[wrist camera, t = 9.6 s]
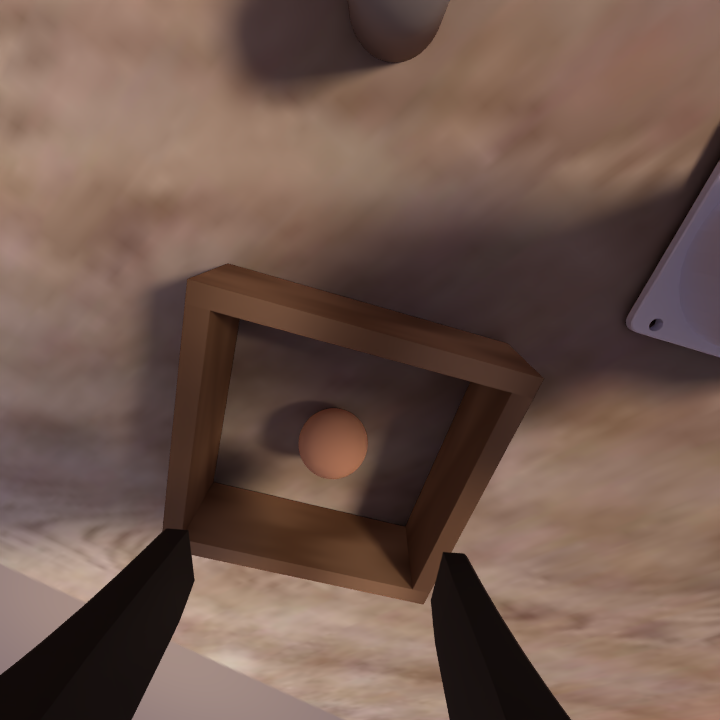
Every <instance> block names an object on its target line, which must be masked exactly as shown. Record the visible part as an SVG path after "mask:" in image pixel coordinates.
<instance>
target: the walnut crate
mask: <svg viewBox="0 0 720 720" xmlns="http://www.w3.org/2000/svg"><path fill="white" fill-rule="evenodd" d="M240 319H243V320H247V321H251V322H254V323H258V324H261V325H265V326H269V327H272V328H276V329H280V330H283V331H287V332H291V333H294V334H298V335H302V336H305V337H309V338H313V339H316V340H320V341H324V342H327V343H331V344H335V345H338V346H342V347H346V348H349V349H353V350H357V351H360V352H364V353H368V354H371V355H375V356H379V357H382V358H386V359H390V360H393V361H397V362H401V363H404V364H408V365H412V366H415V367H419V368H423V369H426V370H430V371H434V372H437V373H441V374H445V375H448V376H452V377H456V378H459V379H463V380H467V381H470V384H469V386H468V388H467V390H466V393H465V395H464V397H463V399H462V402H461V404H460V406H459V408H458V411H457V413H456V415H455V417H454V419H453V422H452V424H451V426H450V428H449V431H448V433H447V435H446V437H445V440H444V442H443V444H442V446H441V448H440V451H439V453H438V455H437V457H436V460H435V462H434V464H433V466H432V468H431V471H430V473H429V475H428V477H427V480H426V482H425V484H424V486H423V489H422V491H421V493H420V495H419V497H418V500H417V502H416V504H415V506H414V509H413V511H412V513H411V515H410V518H409V520H408V522H407V524H406V526H405V527H404V526H400V525H395V524H391V523H387V522H382V521H378V520H374V519H370V518H365V517H361V516H357V515H352V514H348V513H344V512H339V511H335V510H331V509H327V508H322V507H318V506H314V505H309V504H305V503H301V502H296V501H292V500H288V499H283V498H279V497H275V496H271V495H266V494H262V493H258V492H253V491H249V490H245V489H240V488H236V487H232V486H228V485H223V484H219V483H215V482H214V476H215V469H216V463H217V457H218V451H219V445H220V438H221V432H222V426H223V420H224V414H225V407H226V401H227V395H228V389H229V383H230V376H231V370H232V364H233V358H234V352H235V345H236V339H237V333H238V327H239V320H240ZM543 380H544V378H543V377H542V376H541V375H540V374H539V373H538V372H537V371H536V370H535V369H534V368H532V367H531V366H530V365H529V364H528V363H527V362H526V361H525V360H524V359H523V358H522V357H521V356H520V355H519V354H518V353H517V352H516V351H515V350H514V349H513V348H512V347H511V346H510V345H509V344H507V343H504V342H501V341H497V340H494V339H490V338H487V337H483V336H480V335H476V334H473V333H469V332H466V331H462V330H459V329H455V328H452V327H448V326H445V325H441V324H438V323H434V322H431V321H427V320H424V319H420V318H417V317H413V316H410V315H406V314H403V313H399V312H396V311H392V310H389V309H385V308H382V307H378V306H375V305H371V304H368V303H364V302H361V301H357V300H354V299H350V298H347V297H343V296H340V295H336V294H333V293H329V292H326V291H322V290H319V289H315V288H312V287H308V286H305V285H301V284H298V283H294V282H291V281H287V280H284V279H280V278H277V277H273V276H270V275H266V274H263V273H259V272H256V271H252V270H249V269H245V268H242V267H238V266H235V265H231V264H225V265H223V266H220V267H218V268H215V269H212V270H210V271H207V272H205V273H202V274H199V275H197V276H194V277H191V278H189V279H187V287H186V297H185V308H184V318H183V328H182V338H181V348H180V358H179V368H178V379H177V389H176V399H175V409H174V419H173V429H172V439H171V450H170V460H169V470H168V480H167V490H166V500H165V511H164V521H163V531H164V530H165V529H167V528H169V529H181V530H188V531H189V539H190V547H191V555H195V556H200V557H204V558H209V559H214V560H218V561H223V562H228V563H232V564H237V565H242V566H246V567H251V568H256V569H260V570H265V571H270V572H274V573H279V574H284V575H288V576H293V577H298V578H302V579H307V580H312V581H316V582H321V583H326V584H330V585H335V586H340V587H344V588H349V589H354V590H358V591H363V592H368V593H372V594H377V595H382V596H386V597H391V598H396V599H400V600H405V601H410V602H414V603H419V604H424V602H425V601H426V599H427V597H428V595H429V593H430V591H431V589H432V587H433V586H434V584H435V582H436V578H437V574H438V570H439V566H440V562H441V558H442V554H443V552H450V553H451V552H452V550H453V548H454V546H455V544H456V543H457V541H458V539H459V537H460V535H461V533H462V531H463V529H464V528H465V526H466V524H467V522H468V520H469V518H470V516H471V515H472V513H473V511H474V509H475V507H476V505H477V503H478V501H479V500H480V498H481V496H482V494H483V492H484V490H485V488H486V486H487V485H488V483H489V481H490V479H491V477H492V475H493V473H494V471H495V470H496V468H497V466H498V464H499V462H500V460H501V458H502V457H503V455H504V453H505V451H506V449H507V447H508V445H509V443H510V442H511V440H512V438H513V436H514V434H515V432H516V430H517V428H518V427H519V425H520V423H521V421H522V419H523V417H524V415H525V414H526V412H527V410H528V408H529V406H530V404H531V402H532V400H533V399H534V397H535V395H536V393H537V391H538V389H539V387H540V385H541V384H542V382H543ZM163 531H162V532H163Z"/></svg>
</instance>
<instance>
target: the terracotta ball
mask: <svg viewBox="0 0 720 720" xmlns="http://www.w3.org/2000/svg"><path fill="white" fill-rule="evenodd" d="M367 446H368V439H367V434H366V431H365V428H364V426H363V424H362V423H361V422H360V420H359V419H358V418H357V417H356V416H354V415H353V414H352V413H350V412H348V411H346V410H343V409H338V408H330V409H325V410H322V411H319V412H317V413H315V414H314V415H313V416H311V417H310V418H309V419H308V420H307V422H306V423H305V424H304V426H303V428H302V430H301V433H300V436H299V452H300V456H301V458H302V461H303V462H304V464H305V465H306V467H307V468H308V469H309V470H310V471H311V472H313V473H314V474H316V475H317V476H320V477H323V478H327V479H339V478H343V477H346V476H348V475H350V474H351V473H353V472H354V471H355V470H356V469H357V468H358V467H359V466H360V465H361V463H362V462H363V460H364V458H365V456H366V452H367Z"/></svg>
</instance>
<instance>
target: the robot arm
mask: <svg viewBox="0 0 720 720" xmlns="http://www.w3.org/2000/svg"><path fill="white" fill-rule="evenodd" d="M654 319H656V322H655V324H654V325H653V326H652V327H650V328H649V325H650V323H651V322H652V321H653V320H654ZM626 325H627V327H628V328H629V329H630V330H632V331H634V332H636V333H640V334H643V335H646V336H650V337H653V338H656V339H660V340H663V341H666V342H670V343H673V344H677V345H680V346H683V347H687V348H690V349H693V350H697V351H700V352H703V353H707V354H710V355H713V356H717V357H720V160H719V162H718V163H717V165H716V167H715V169H714V170H713V172H712V174H711V175H710V177H709V179H708V180H707V182H706V184H705V185H704V187H703V189H702V191H701V192H700V194H699V196H698V197H697V199H696V201H695V202H694V204H693V206H692V208H691V209H690V211H689V213H688V214H687V216H686V218H685V219H684V221H683V223H682V224H681V226H680V228H679V230H678V231H677V233H676V235H675V236H674V238H673V240H672V241H671V243H670V245H669V247H668V248H667V250H666V252H665V253H664V255H663V257H662V258H661V260H660V262H659V263H658V265H657V267H656V269H655V270H654V272H653V274H652V275H651V277H650V279H649V280H648V282H647V284H646V286H645V287H644V289H643V291H642V292H641V294H640V296H639V297H638V299H637V301H636V302H635V304H634V306H633V308H632V309H631V311H630V313H629V314H628V316H627V319H626ZM194 581H195V580H194V572H193V564H192V555H191V547H190V539H189V531H188V530H181V529H169V528H167V529H165V530H164V531H163V532H162V533H161V534H159V535H158V536H157V537H156V538H155V539H154V540H153V541H152V542H151V543H150V544H149V545H148V546H147V547H146V548H145V549H144V550H143V551H142V552H141V553H140V554H139V555H138V556H137V557H136V558H135V559H134V560H133V561H131V562H130V563H129V564H128V565H127V566H126V567H125V568H124V569H123V570H122V571H121V572H120V573H119V574H118V575H117V576H116V577H115V578H113V579H112V580H111V581H110V582H109V583H108V584H107V585H106V586H105V587H104V588H103V589H101V590H100V591H99V592H98V593H97V594H96V595H95V596H94V597H93V598H92V599H90V600H89V601H88V602H87V603H86V604H85V605H84V606H83V607H82V608H80V609H79V610H78V611H77V612H76V613H75V614H74V615H73V616H71V617H70V618H69V619H68V620H67V621H65V622H64V623H63V624H62V625H61V626H60V627H59V628H57V629H56V630H55V631H54V632H53V633H52V634H50V635H49V636H48V637H47V638H46V639H44V640H43V641H42V642H41V643H40V644H38V645H37V646H36V647H35V648H34V649H32V650H31V651H30V652H29V653H27V654H26V655H25V656H24V657H23V658H21V659H20V660H19V661H18V662H16V663H15V664H14V665H13V666H11V667H10V668H9V669H7V670H6V671H5V672H4V673H2V674H1V675H0V720H131V719H132V718H133V716H134V714H135V712H136V710H137V707H138V705H139V703H140V701H141V699H142V697H143V695H144V693H145V691H146V689H147V687H148V685H149V683H150V681H151V679H152V677H153V675H154V673H155V671H156V669H157V667H158V665H159V663H160V660H161V659H162V656H163V654H164V652H165V650H166V648H167V646H168V644H169V642H170V640H171V638H172V636H173V634H174V632H175V630H176V627H177V625H178V623H179V621H180V618H181V616H182V613H183V610H184V608H185V605H186V603H187V600H188V597H189V594H190V592H191V589H192V586H193V583H194ZM431 607H432V618H433V628H434V637H435V645H436V651H437V656H438V661H439V667H440V672H441V677H442V682H443V687H444V693H445V698H446V703H447V708H448V713H449V718H450V720H571V719H570V717H569V716H568V715H567V713H566V712H565V711H564V709H563V708H562V707H561V705H560V704H559V702H558V701H557V700H556V698H555V697H554V696H553V694H552V693H551V691H550V690H549V688H548V687H547V686H546V684H545V683H544V681H543V680H542V678H541V677H540V675H539V674H538V673H537V671H536V670H535V668H534V667H533V665H532V664H531V662H530V661H529V659H528V658H527V656H526V655H525V653H524V652H523V650H522V649H521V647H520V646H519V644H518V642H517V641H516V639H515V638H514V636H513V634H512V633H511V631H510V630H509V628H508V627H507V625H506V623H505V622H504V620H503V619H502V617H501V615H500V614H499V612H498V610H497V609H496V607H495V605H494V604H493V602H492V600H491V598H490V597H489V595H488V593H487V592H486V590H485V588H484V586H483V585H482V583H481V581H480V579H479V578H478V576H477V574H476V572H475V570H474V569H473V567H472V565H471V563H470V561H469V559H468V557H467V556H466V555H465V554H462V553H450V552H443V554H442V558H441V562H440V566H439V570H438V574H437V578H436V582H435V586H434V590H433V594H432V598H431Z"/></svg>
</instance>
